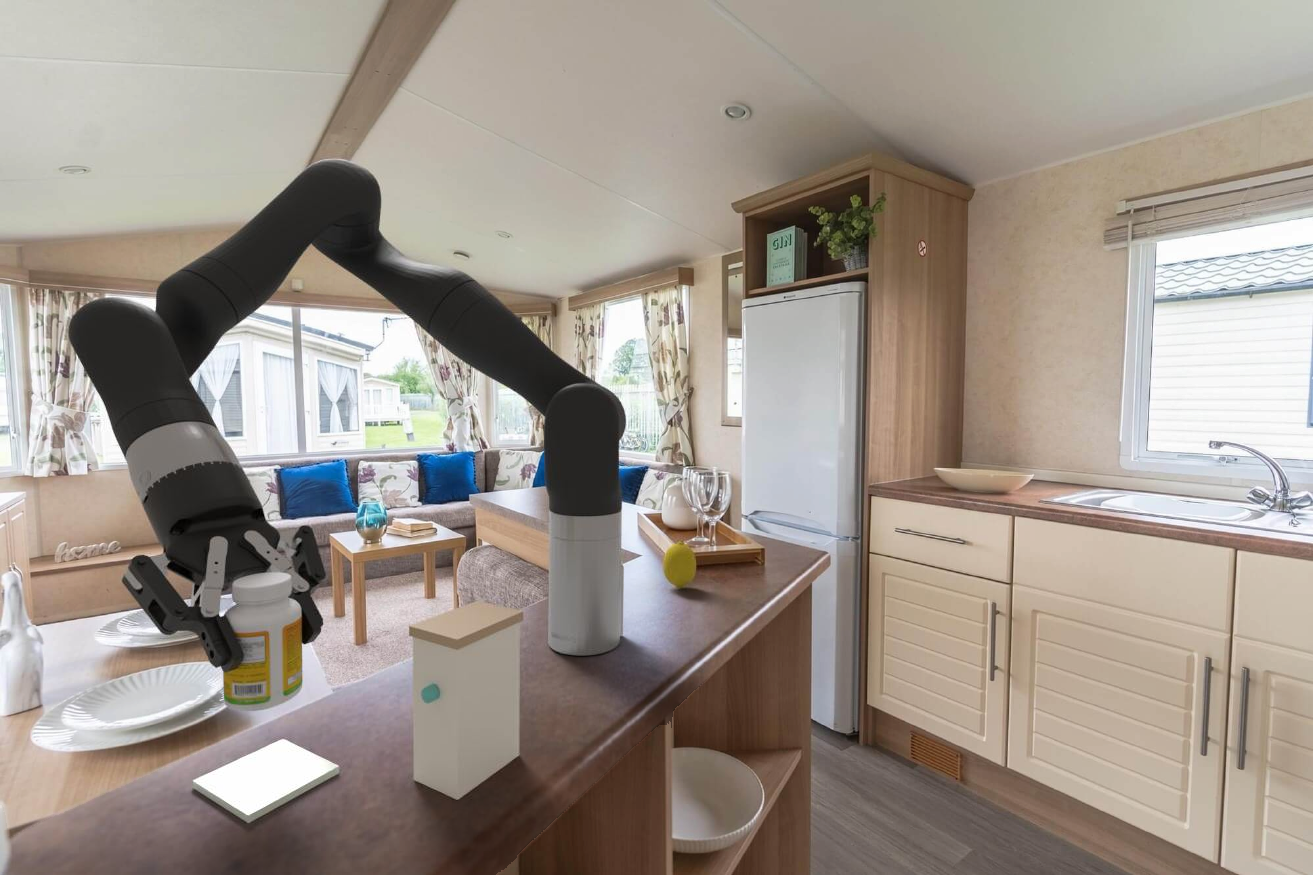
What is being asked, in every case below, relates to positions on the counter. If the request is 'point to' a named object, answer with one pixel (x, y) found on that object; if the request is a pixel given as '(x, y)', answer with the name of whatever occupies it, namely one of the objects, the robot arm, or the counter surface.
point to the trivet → (265, 779)
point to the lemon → (679, 565)
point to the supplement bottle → (264, 643)
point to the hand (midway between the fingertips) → (275, 650)
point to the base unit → (465, 696)
